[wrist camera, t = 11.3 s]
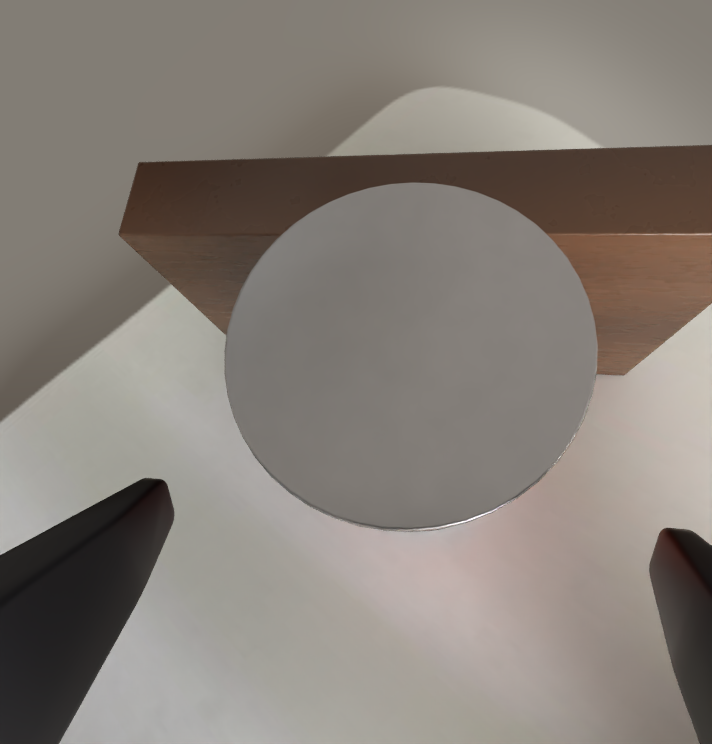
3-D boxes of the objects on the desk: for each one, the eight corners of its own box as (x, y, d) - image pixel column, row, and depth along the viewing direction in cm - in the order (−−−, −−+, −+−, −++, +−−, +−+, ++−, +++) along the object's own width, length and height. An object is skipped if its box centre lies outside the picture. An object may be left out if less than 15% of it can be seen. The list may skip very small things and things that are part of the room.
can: (502, 540, 18) (608, 555, 7) (331, 521, 20) (191, 510, 8) (504, 372, 20) (590, 177, 9) (348, 364, 22) (254, 184, 10)
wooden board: (624, 375, 20) (797, 233, 10) (250, 358, 22) (117, 235, 13) (620, 321, 20) (780, 141, 11) (258, 311, 23) (137, 161, 14)
